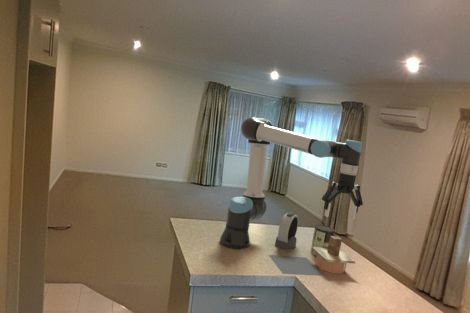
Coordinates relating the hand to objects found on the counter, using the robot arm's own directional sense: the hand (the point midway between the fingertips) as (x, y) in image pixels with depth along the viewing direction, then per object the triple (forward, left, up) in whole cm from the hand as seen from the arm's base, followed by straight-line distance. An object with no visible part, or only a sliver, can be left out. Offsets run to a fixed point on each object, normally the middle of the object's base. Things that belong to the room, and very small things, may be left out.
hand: (339, 217), depth 174 cm
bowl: (0, 0, -25) cm, 25 cm away
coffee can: (+3, +17, -25) cm, 30 cm away
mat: (-18, 0, -25) cm, 30 cm away
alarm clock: (-13, +26, -25) cm, 38 cm away
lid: (0, 0, -19) cm, 19 cm away
